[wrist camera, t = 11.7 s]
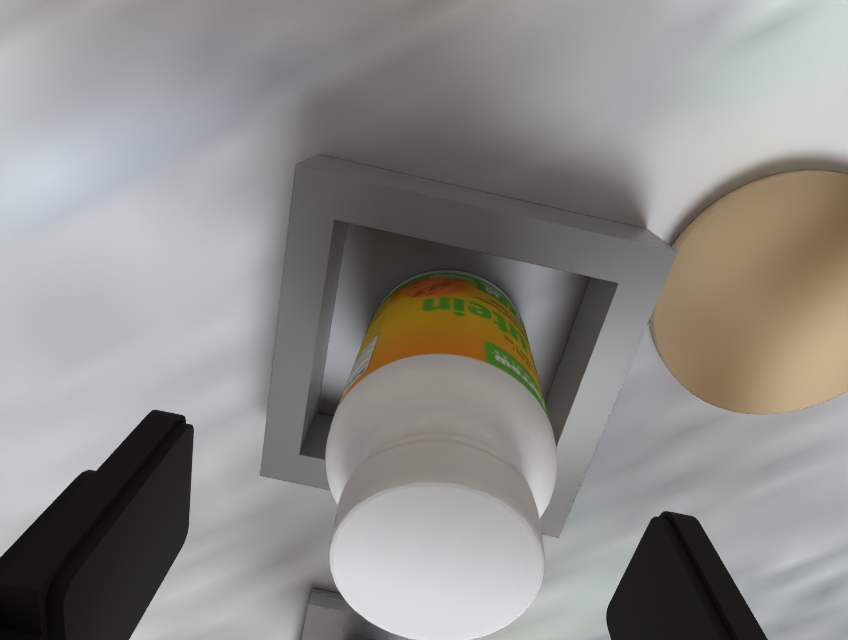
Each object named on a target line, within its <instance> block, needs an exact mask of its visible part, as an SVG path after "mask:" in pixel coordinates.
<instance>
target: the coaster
mask: <svg viewBox="0 0 848 640" xmlns="http://www.w3.org/2000/svg"><path fill="white" fill-rule="evenodd" d="M671 247H672V248H674V249H675V250H676V251H678V252H677V255H676V257H675V259H674V262H673V264H672V267H671V269H670V271H669V274H668V276H667V279H666V281H665V283H664V286H663V288H662V291H661V293H660V296H659V298H658V300H657V303H656V305H655V308H654V310H653V312H652V315H651V317H650V327H651V333H652V337H653V341H654V344H655V346H656V349H657V351H658V353H659V355H660V357H661V359H662V360H663V362H664V363H665V365H666V366H667V368H668V369H669V370H670V372H671V373H672V374H673V376H674V377H675V378H676V379H677V380H678V381H679V382H680V383H681V385H682V386H683V387H685V388H686V389H687V390H688V391H690V392H691V393H692V394H693V395H695V396H697V397H698V398H700V399H702V400H703V401H705V402H707V403H710V404H712V405H714V406H717V407H719V408H723V409H726V410H730V411H734V412H740V413H746V414H778V413H785V412H791V411H797V410H801V409H804V408H808V407H812V406H815V405H817V404H820V403H823V402H825V401H828V400H830V399H832V398H834V397H836V396H839V395H841V394H843V393H845V392H846V391H848V175H847V174H843V173H837V172H830V171H824V170H802V171H792V172H785V173H780V174H776V175H772V176H767V177H765V178H762V179H759V180H756V181H753V182H750V183H748V184H746V185H744V186H742V187H740V188H738V189H736V190H733V191H731V192H730V193H728V194H727V195H725V196H723V197H722V198H720V199H719V200H717V201H715V202H714V203H713V204H711V205H710V206H709V207H708V208H706V209H705V210H704V211H703V212H701V213H700V214H699V215H698V216H697V217H696V218H695V219H694V220H693V221H692V222H691V223H690V224H689V225H688V226H687V227H686V228H685V229H684V230H683V232H682V233H681V234H680V235H679V236H678V238H677V239H676V240H675V241H674V243H673V245H672V246H671Z"/></svg>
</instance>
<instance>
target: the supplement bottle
mask: <svg viewBox="0 0 848 640" xmlns="http://www.w3.org/2000/svg"><path fill="white" fill-rule="evenodd" d="M325 461H326V472H327V479H328V483H329V487H330V490H331V493H332V495H333V498H334V499H335V501H336V503H337V505H338V508H337V514H336V518H335V521H334V526H333V530H332V534H331V538H330V544H329V564H330V570H331V573H332V576H333V579H334V582H335V584H336V586H337V588H338V590H339V592H340V593H341V595H342V596H343V597H344V599H345V600H346V602H347V603H348V604H349V605H350V606H351V607H352V608H353V609H354V610H355V611H356V612H357V613H359V614H360V615H361V616H363V617H364V618H365V619H366V620H368V621H369V622H371V623H373V624H374V625H376V626H378V627H380V628H382V629H384V630H386V631H388V632H390V633H393V634H396V635H400V636H403V637H406V638H409V639H415V640H471V639H475V638H479V637H482V636H485V635H488V634H491V633H493V632H495V631H497V630H499V629H501V628H503V627H505V626H507V625H508V624H510V623H511V622H513V621H514V620H515V619H516V618H518V617H519V616H520V615H521V614H522V613H523V612H524V611H525V610H526V609H527V608H528V607H529V606H530V605H531V603H532V602H533V600H534V599H535V597H536V595H537V593H538V591H539V589H540V587H541V584H542V580H543V575H544V570H545V554H544V547H543V540H542V533H541V526H540V517H541V516H542V514H543V513H544V511H545V509H546V508H547V506H548V504H549V502H550V499H551V496H552V493H553V490H554V486H555V482H556V475H557V449H556V444H555V438H554V433H553V429H552V425H551V421H550V418H549V415H548V411H547V408H546V404H545V401H544V397H543V394H542V390H541V387H540V383H539V380H538V375H537V371H536V368H535V365H534V361H533V357H532V353H531V350H530V346H529V342H528V338H527V334H526V331H525V327H524V324H523V322H522V319H521V317H520V314H519V312H518V311H517V309H516V307H515V306H514V304H513V303H512V301H511V300H510V299H509V298H508V297H507V295H506V294H505V293H504V292H502V291H501V290H500V289H499V288H498V287H496V286H495V285H494V284H492V283H491V282H489V281H487V280H485V279H483V278H481V277H479V276H476V275H474V274H471V273H467V272H462V271H456V270H436V271H430V272H425V273H422V274H419V275H416V276H413V277H411V278H409V279H407V280H405V281H404V282H402V283H401V284H399V285H398V286H396V287H395V288H394V289H393V290H392V291H391V292H389V294H388V295H387V296H386V297H385V298H384V299H383V301H382V302H381V303H380V305H379V306H378V308H377V310H376V312H375V313H374V315H373V318H372V320H371V322H370V324H369V327H368V330H367V332H366V335H365V338H364V340H363V343H362V345H361V348H360V351H359V353H358V356H357V359H356V361H355V364H354V366H353V369H352V371H351V374H350V377H349V379H348V382H347V385H346V387H345V390H344V393H343V395H342V398H341V400H340V403H339V405H338V407H337V410H336V412H335V415H334V418H333V421H332V424H331V428H330V431H329V435H328V439H327V445H326V456H325Z"/></svg>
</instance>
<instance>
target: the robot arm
mask: <svg viewBox="0 0 848 640" xmlns="http://www.w3.org/2000/svg"><path fill="white" fill-rule="evenodd" d="M193 434H194V428H193V425H191V424H186V419H185V416H183V415H179V414H174V413H169V412H164V411H159V410H152V411H151V412H150V413H149V414H148V415H147V416H146V417H145V418H144V419H143V420H142V421H141V423H140V424H139V425H138V426H137V427H136V428H135V429H134V430H133V431H132V432H131V433H130V435H129V436H128V437H127V438H126V439H125V440H124V441H123V442H122V443H121V444H120V446H119V447H118V448H117V449H116V450H115V451H114V452H113V453H112V454H111V455H110V456H109V458H108V459H107V460H106V461H105V462H104V463H103V464H102V465H101V466H100V467H99V468H98V470H97V471H93V470H87V471H84V472H82V473H81V474H80V475H79V476H78V477H77V478H75V480H74V481H73V482H72V483H71V484H70V485H69V486H68V487H67V488H66V489H65V490H64V491H63V492H62V493H61V494H60V495H59V496H58V497H57V498H56V500H55V501H54V502H53V503H52V504H51V505H50V506H49V507H48V508H47V509H46V510H45V511H44V512H43V513H42V514H41V515H40V516H39V517H38V519H37V520H36V521H35V522H34V523H33V524H32V525H31V526H30V527H29V528H28V529H27V530H26V531H25V532H24V533H23V534H22V535H21V536H20V537H19V539H18V540H17V541H16V542H15V543H14V544H13V545H12V546H11V547H10V548H9V549H8V550H7V551H6V552H5V553H4V554H3V555H2V556H1V557H0V640H129V639H130V637H131V635H132V634H133V632H134V630H135V628H136V627H137V625H138V623H139V621H140V620H141V618H142V616H143V614H144V613H145V611H146V609H147V607H148V606H149V604H150V602H151V600H152V599H153V597H154V595H155V593H156V592H157V590H158V588H159V587H160V585H161V583H162V581H163V580H164V578H165V576H166V574H167V573H168V571H169V569H170V567H171V566H172V564H173V562H174V560H175V559H176V557H177V555H178V553H179V552H180V550H181V548H182V546H183V544H184V542H185V539H186V536H187V533H188V527H189V510H190V491H191V472H192V453H193ZM606 620H607V626H608V630H609V633H610V637H611V640H768V639H767V638H766V636H765V634H764V632H763V631H762V629H761V627H760V626H759V624H758V622H757V620H756V619H755V617H754V615H753V614H752V612H751V610H750V608H749V607H748V605H747V603H746V602H745V600H744V598H743V596H742V595H741V593H740V591H739V590H738V588H737V586H736V584H735V583H734V581H733V579H732V578H731V576H730V574H729V572H728V571H727V569H726V567H725V565H724V564H723V562H722V560H721V559H720V557H719V555H718V553H717V552H716V550H715V548H714V547H713V545H712V543H711V541H710V540H709V538H708V536H707V535H706V533H705V531H704V529H703V528H702V526H701V524H700V523H699V521H698V520H697V519H696V518H695V517H693V516H689V515H684V514H679V513H674V512H668V511H664V512H663V513H661V514H660V516H659V517H653V518H652V519H651V521H650V523H649V525H648V527H647V529H646V531H645V533H644V535H643V537H642V539H641V541H640V543H639V545H638V547H637V549H636V551H635V553H634V555H633V557H632V559H631V561H630V563H629V565H628V567H627V569H626V571H625V573H624V575H623V577H622V579H621V581H620V583H619V585H618V587H617V589H616V591H615V593H614V595H613V597H612V599H611V601H610V603H609V606H608V608H607V615H606Z"/></svg>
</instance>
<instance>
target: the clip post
mask: <svg viewBox="0 0 848 640" xmlns="http://www.w3.org/2000/svg"><path fill="white" fill-rule="evenodd" d="M302 640H415V639H409V638H406V637H403V636H400V635H396V634H393V633H390V632H388V631H386V630H384V629H382V628H380V627H378V626H376V625H374V624H373V623H371V622H369V621H368V620H366V619H365V618H364V617H363V616H361V615H360V614H359V613H357V612H356V611H355V610H354V609H353V608H352V607H351V606H350V605H349V604H348V603H347V602H346V600H345V599H344V597H343V596H342V595H341V594H339V593H334V592H329V591H324V590H319V589H314V588H313V589H312V592H311V595H310V599H309V602H308V607H307V612H306V618H305V623H304V629H303V634H302Z"/></svg>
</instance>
